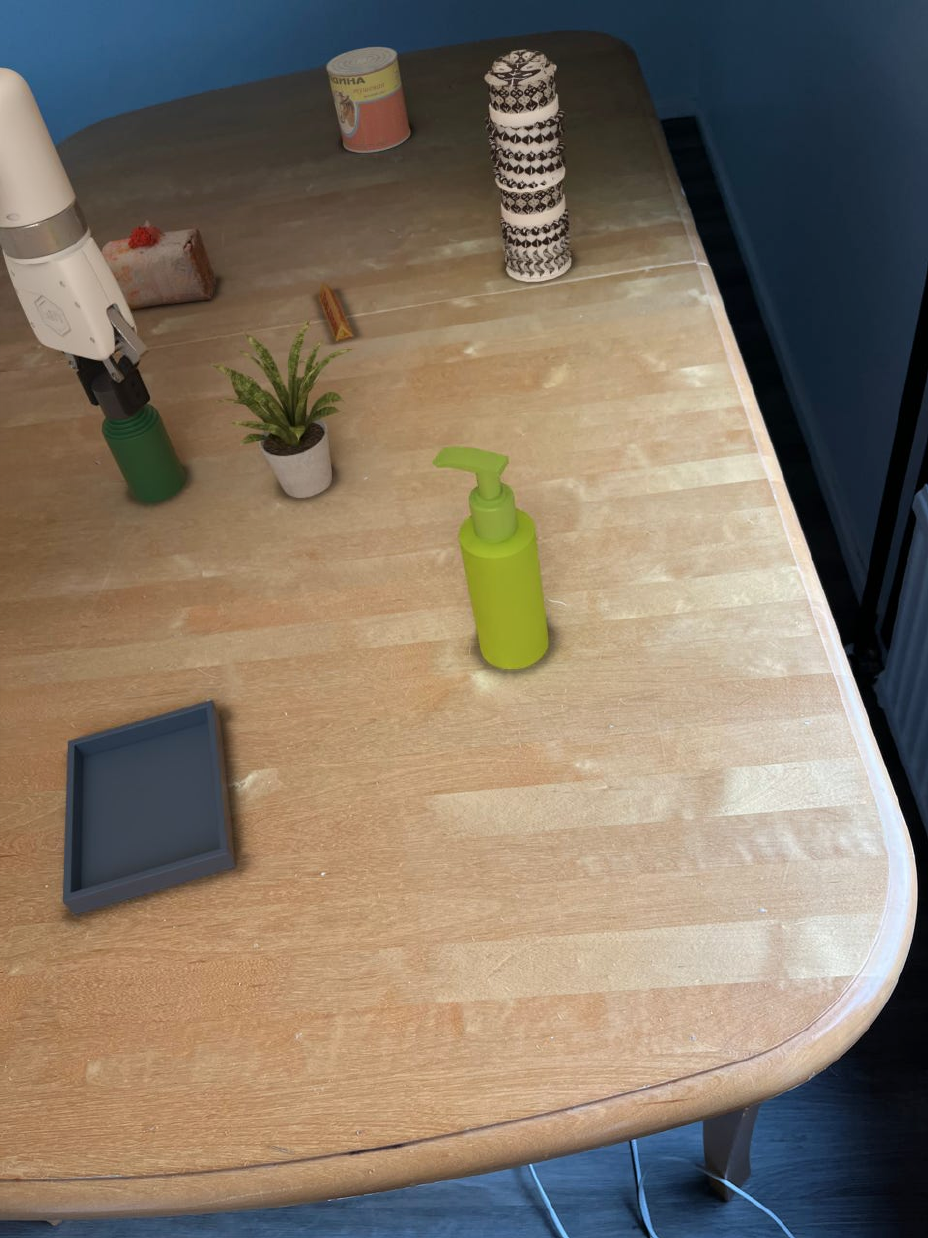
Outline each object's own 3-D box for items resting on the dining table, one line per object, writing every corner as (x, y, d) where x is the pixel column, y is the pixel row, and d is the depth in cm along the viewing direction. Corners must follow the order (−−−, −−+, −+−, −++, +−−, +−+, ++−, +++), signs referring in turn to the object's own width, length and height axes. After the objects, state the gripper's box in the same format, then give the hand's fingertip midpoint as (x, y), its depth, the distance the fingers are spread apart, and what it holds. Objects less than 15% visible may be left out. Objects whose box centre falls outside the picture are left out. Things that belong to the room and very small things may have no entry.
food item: (114, 317, 138) (84, 249, 131) (128, 288, 144) (100, 220, 137) (211, 305, 137) (186, 235, 130) (221, 275, 142) (198, 207, 135)
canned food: (329, 144, 169) (312, 66, 161) (381, 119, 174) (366, 42, 165) (372, 158, 163) (355, 78, 154) (424, 131, 167) (411, 52, 159)
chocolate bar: (335, 343, 125) (330, 327, 124) (317, 299, 134) (313, 283, 132) (355, 337, 126) (351, 321, 124) (336, 294, 134) (332, 278, 132)
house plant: (378, 425, 112) (345, 289, 100) (393, 503, 103) (358, 363, 91) (251, 453, 112) (203, 320, 100) (254, 534, 102) (201, 397, 91)
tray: (237, 869, 76) (228, 852, 74) (75, 917, 75) (62, 902, 73) (221, 716, 86) (212, 699, 85) (79, 757, 85) (67, 740, 84)
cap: (95, 415, 103) (81, 387, 100) (123, 392, 105) (111, 365, 103) (124, 423, 101) (110, 395, 98) (152, 400, 103) (140, 373, 101)
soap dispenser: (487, 610, 90) (454, 425, 76) (559, 629, 88) (539, 441, 73) (458, 658, 87) (417, 474, 73) (532, 678, 84) (505, 492, 70)
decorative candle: (522, 293, 127) (500, 80, 109) (491, 264, 134) (465, 58, 116) (587, 269, 129) (575, 56, 111) (553, 242, 135) (537, 36, 117)
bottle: (121, 496, 110) (70, 395, 101) (159, 463, 113) (113, 362, 104) (160, 510, 107) (112, 407, 98) (198, 476, 110) (155, 373, 101)
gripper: (-51, 235, 91) (39, 406, 104) (75, 262, 84) (155, 442, 97) (12, 198, 95) (91, 367, 108) (138, 220, 88) (207, 399, 101)
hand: (121, 401), depth 102 cm, fingers closed on cap, 4 cm apart
